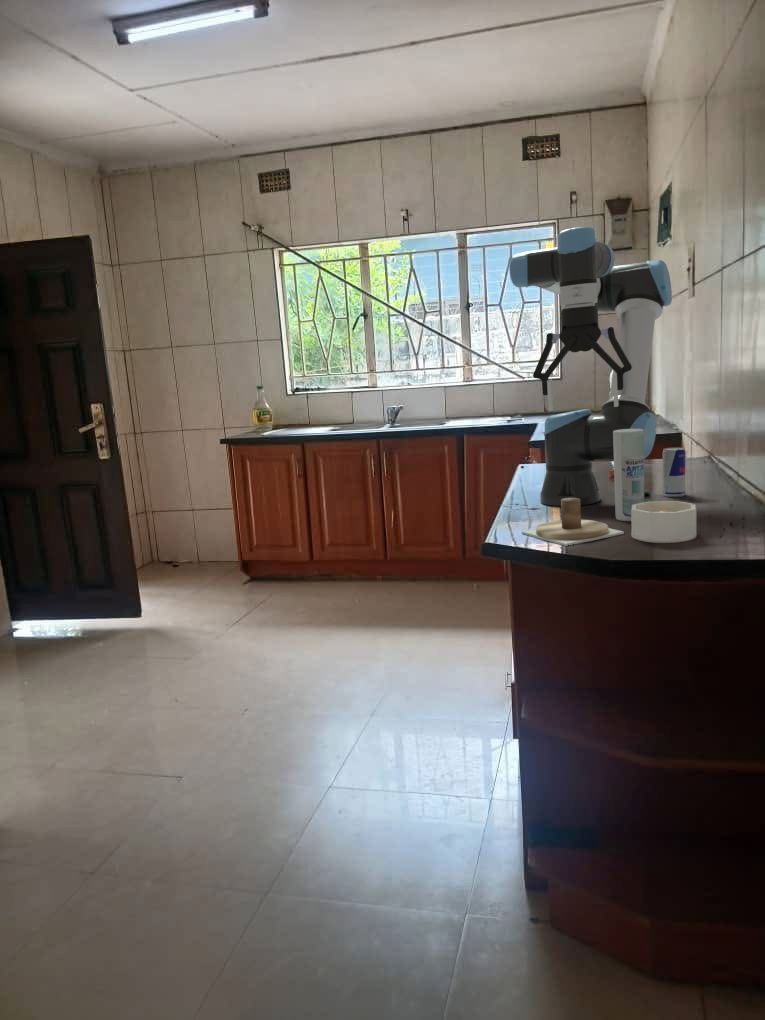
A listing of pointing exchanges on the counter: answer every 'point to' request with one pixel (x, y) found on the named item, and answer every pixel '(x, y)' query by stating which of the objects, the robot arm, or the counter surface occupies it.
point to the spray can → (628, 470)
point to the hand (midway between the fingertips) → (583, 408)
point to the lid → (571, 524)
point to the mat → (570, 542)
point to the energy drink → (674, 472)
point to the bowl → (663, 521)
